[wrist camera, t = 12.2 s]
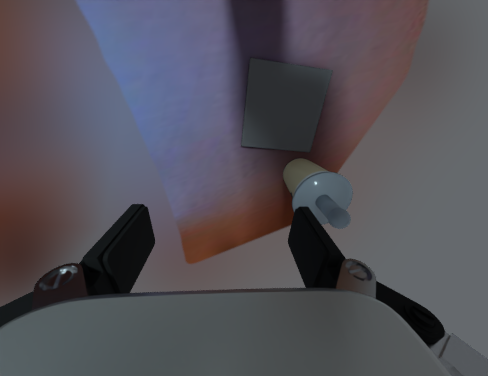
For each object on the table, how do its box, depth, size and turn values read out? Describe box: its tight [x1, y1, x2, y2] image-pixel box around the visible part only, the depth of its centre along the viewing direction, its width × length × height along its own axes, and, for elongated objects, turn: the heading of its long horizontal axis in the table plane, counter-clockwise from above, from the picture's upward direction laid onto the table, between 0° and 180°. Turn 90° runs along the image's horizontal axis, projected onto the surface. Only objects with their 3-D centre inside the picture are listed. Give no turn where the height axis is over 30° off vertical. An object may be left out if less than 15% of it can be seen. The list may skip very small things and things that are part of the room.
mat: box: [241, 58, 333, 152], centre depth 36 cm, size 16×16×1 cm
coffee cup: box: [283, 158, 329, 198], centre depth 38 cm, size 9×9×12 cm
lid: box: [292, 172, 353, 229], centre depth 29 cm, size 11×11×8 cm
